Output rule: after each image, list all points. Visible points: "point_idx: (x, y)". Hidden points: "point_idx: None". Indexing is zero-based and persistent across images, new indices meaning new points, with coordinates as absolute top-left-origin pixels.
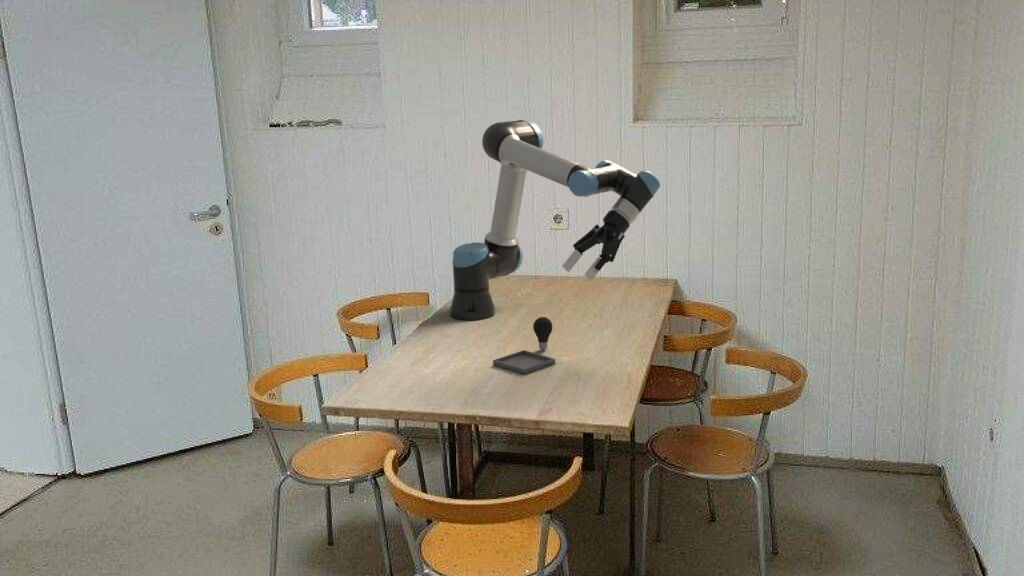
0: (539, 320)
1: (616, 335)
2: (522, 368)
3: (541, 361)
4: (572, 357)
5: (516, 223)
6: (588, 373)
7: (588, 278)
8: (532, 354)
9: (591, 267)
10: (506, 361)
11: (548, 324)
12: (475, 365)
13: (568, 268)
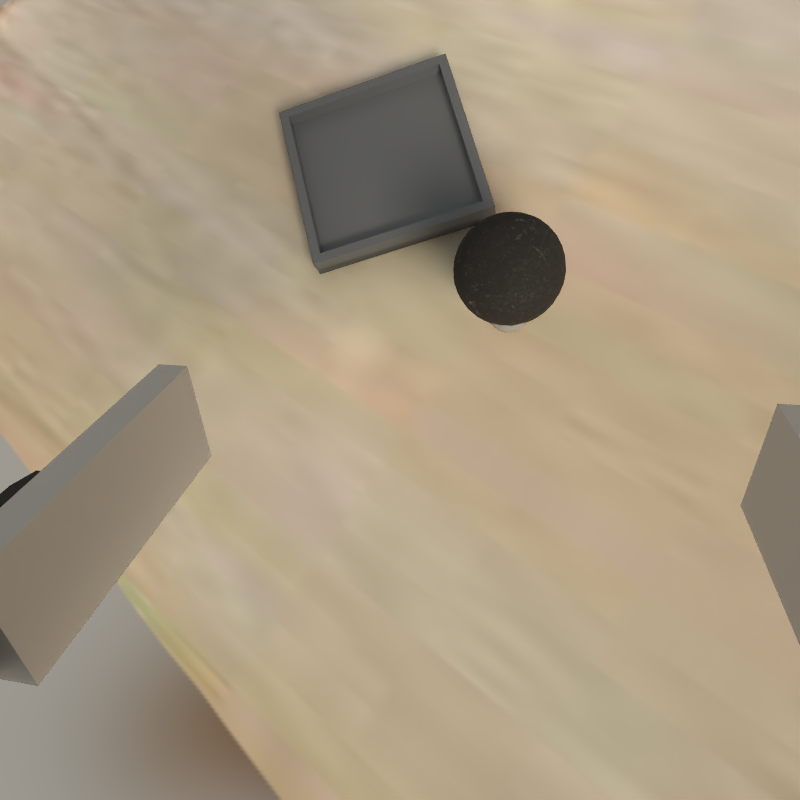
0: (493, 220)
1: (522, 790)
2: (294, 112)
3: (355, 227)
4: (349, 376)
5: None
6: (161, 327)
7: (198, 427)
8: (431, 220)
9: (86, 430)
10: (435, 112)
11: (457, 268)
12: (486, 16)
13: (760, 495)
